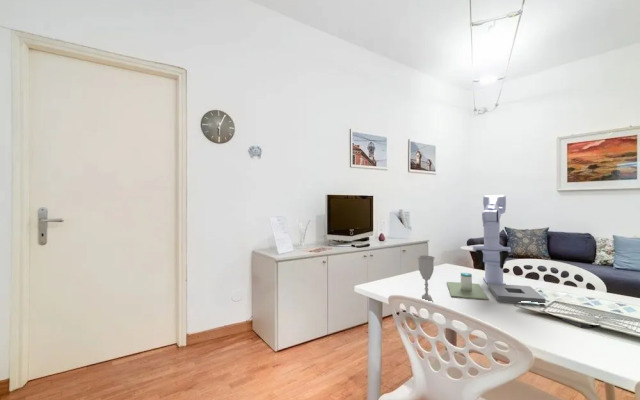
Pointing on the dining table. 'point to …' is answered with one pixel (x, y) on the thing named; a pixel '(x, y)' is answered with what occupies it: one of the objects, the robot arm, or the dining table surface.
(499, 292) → the housing
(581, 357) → the dining table surface
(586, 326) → the phone
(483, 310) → the dining table surface
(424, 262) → the chalice
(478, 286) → the mat
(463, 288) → the cylinder
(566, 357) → the dining table surface
